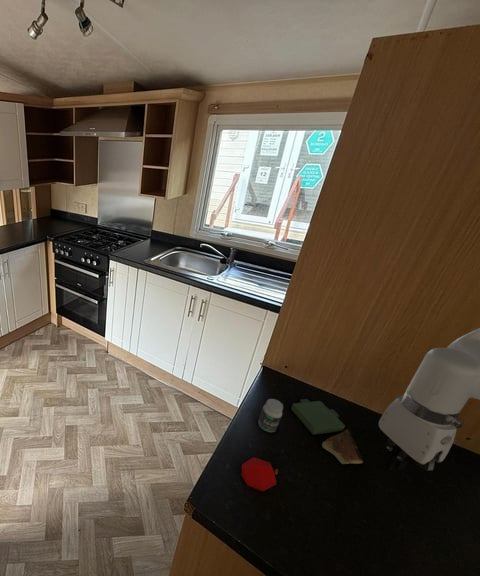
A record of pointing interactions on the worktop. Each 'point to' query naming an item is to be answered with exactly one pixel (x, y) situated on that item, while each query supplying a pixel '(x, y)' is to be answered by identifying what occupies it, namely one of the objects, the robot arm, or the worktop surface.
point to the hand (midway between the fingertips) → (391, 465)
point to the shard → (343, 448)
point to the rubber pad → (317, 417)
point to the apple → (258, 474)
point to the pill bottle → (270, 415)
